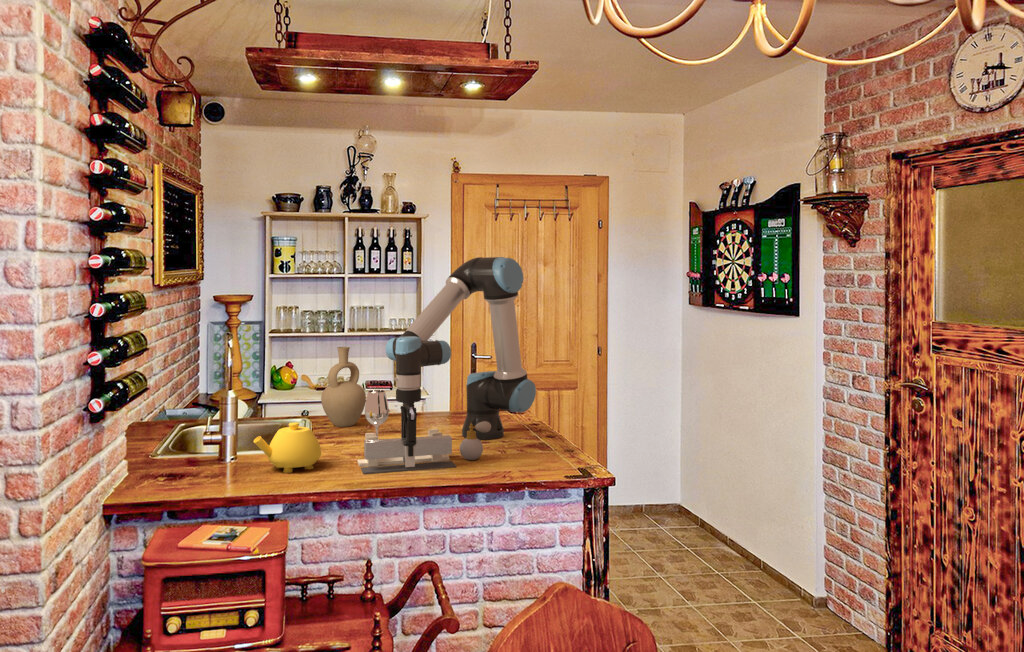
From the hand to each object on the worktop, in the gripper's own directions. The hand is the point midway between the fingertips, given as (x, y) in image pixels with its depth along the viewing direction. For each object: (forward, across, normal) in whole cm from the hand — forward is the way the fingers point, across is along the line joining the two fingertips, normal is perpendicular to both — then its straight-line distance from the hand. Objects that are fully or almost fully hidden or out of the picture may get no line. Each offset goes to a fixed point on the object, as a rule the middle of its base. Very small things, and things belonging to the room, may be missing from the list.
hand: (408, 464), depth 237 cm
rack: (+1, -8, 0) cm, 9 cm away
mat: (+1, 0, 0) cm, 1 cm away
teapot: (+1, -10, -35) cm, 36 cm away
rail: (-3, 0, 0) cm, 3 cm away
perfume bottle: (+1, -6, +22) cm, 23 cm away
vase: (+1, -70, -12) cm, 71 cm away
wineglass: (+1, -24, -6) cm, 25 cm away
